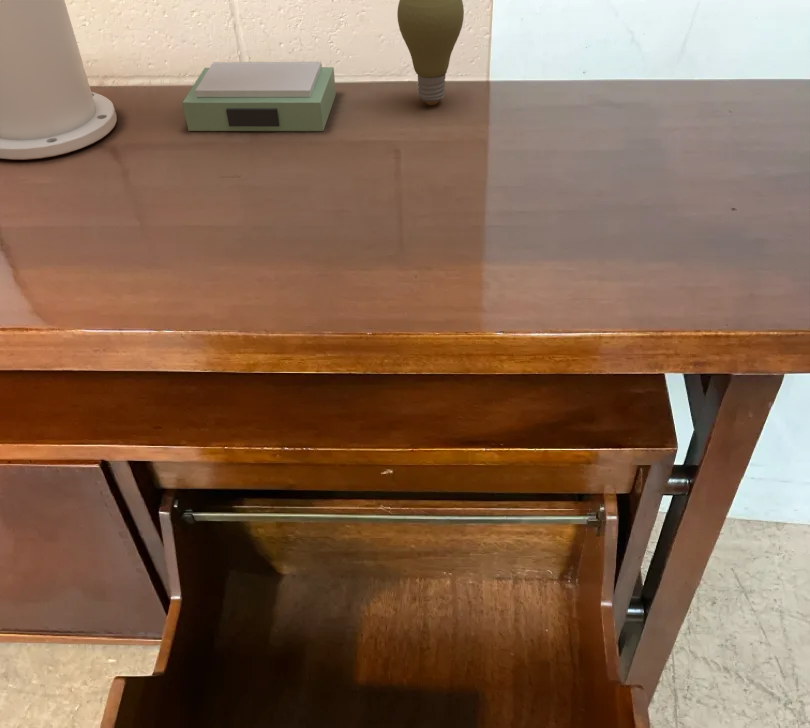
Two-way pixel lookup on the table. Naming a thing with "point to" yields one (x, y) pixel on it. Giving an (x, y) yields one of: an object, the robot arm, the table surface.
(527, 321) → the table surface
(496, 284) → the table surface
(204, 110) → the scale
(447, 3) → the light bulb
